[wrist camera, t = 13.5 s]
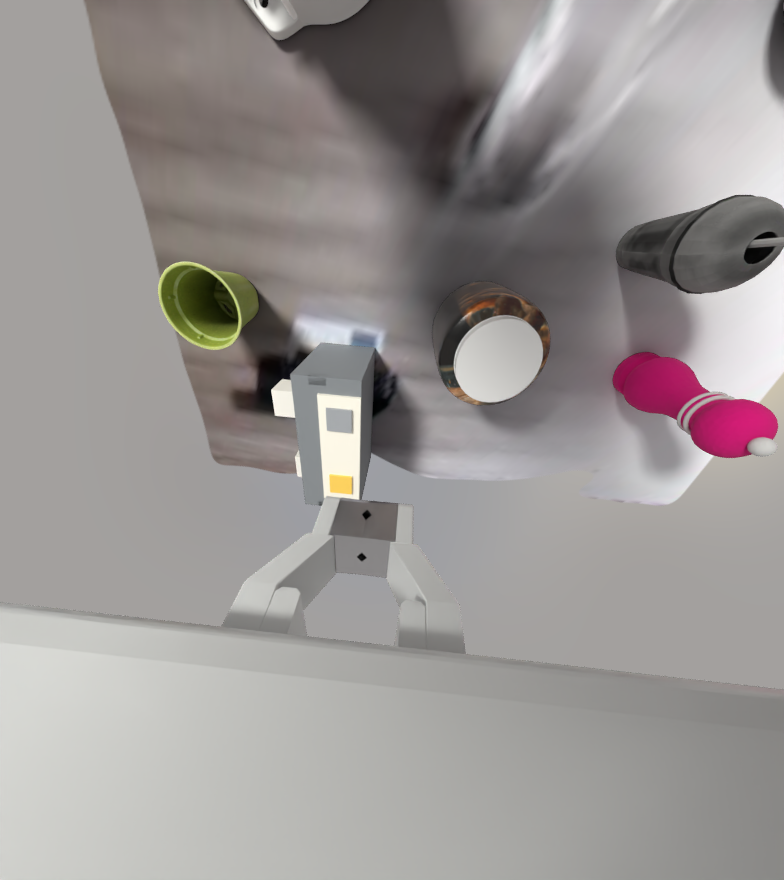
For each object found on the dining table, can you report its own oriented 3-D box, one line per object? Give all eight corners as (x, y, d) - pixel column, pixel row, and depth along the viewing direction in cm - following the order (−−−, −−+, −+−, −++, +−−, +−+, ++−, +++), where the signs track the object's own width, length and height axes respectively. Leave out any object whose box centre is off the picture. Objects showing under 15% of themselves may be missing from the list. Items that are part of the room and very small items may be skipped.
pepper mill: (604, 399, 46) (711, 487, 30) (612, 353, 43) (739, 423, 26) (657, 392, 45) (799, 478, 28) (670, 343, 42) (843, 410, 25)
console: (327, 453, 56) (303, 507, 44) (321, 342, 45) (287, 376, 33) (370, 457, 55) (358, 513, 44) (375, 347, 45) (360, 383, 33)
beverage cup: (633, 292, 39) (799, 329, 22) (589, 262, 37) (732, 276, 20) (687, 230, 35) (939, 217, 18) (641, 194, 33) (868, 143, 17)
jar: (428, 287, 40) (434, 307, 27) (521, 274, 38) (573, 289, 26) (434, 373, 46) (440, 421, 33) (514, 365, 45) (552, 412, 32)
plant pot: (247, 346, 46) (215, 365, 38) (190, 294, 42) (143, 304, 35) (284, 301, 42) (257, 313, 35) (226, 241, 39) (181, 240, 31)
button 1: (285, 403, 42) (275, 415, 39) (282, 379, 40) (271, 390, 37) (320, 406, 42) (313, 419, 39) (319, 382, 40) (311, 393, 37)
